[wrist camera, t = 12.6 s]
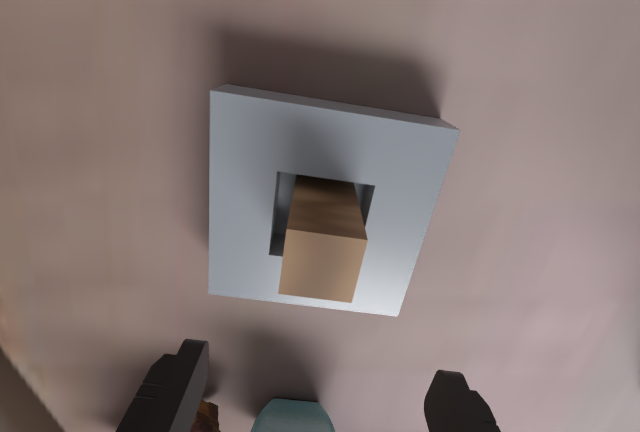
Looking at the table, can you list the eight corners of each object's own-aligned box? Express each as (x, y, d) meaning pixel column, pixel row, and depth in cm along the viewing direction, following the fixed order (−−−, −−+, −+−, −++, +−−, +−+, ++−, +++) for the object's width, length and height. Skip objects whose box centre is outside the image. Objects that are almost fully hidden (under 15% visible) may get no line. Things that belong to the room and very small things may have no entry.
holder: (440, 118, 22) (460, 130, 19) (389, 286, 28) (397, 316, 25) (226, 83, 21) (210, 90, 18) (221, 265, 27) (208, 293, 24)
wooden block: (353, 181, 24) (368, 240, 16) (342, 230, 25) (351, 303, 18) (296, 173, 23) (286, 229, 16) (290, 223, 25) (278, 293, 18)
